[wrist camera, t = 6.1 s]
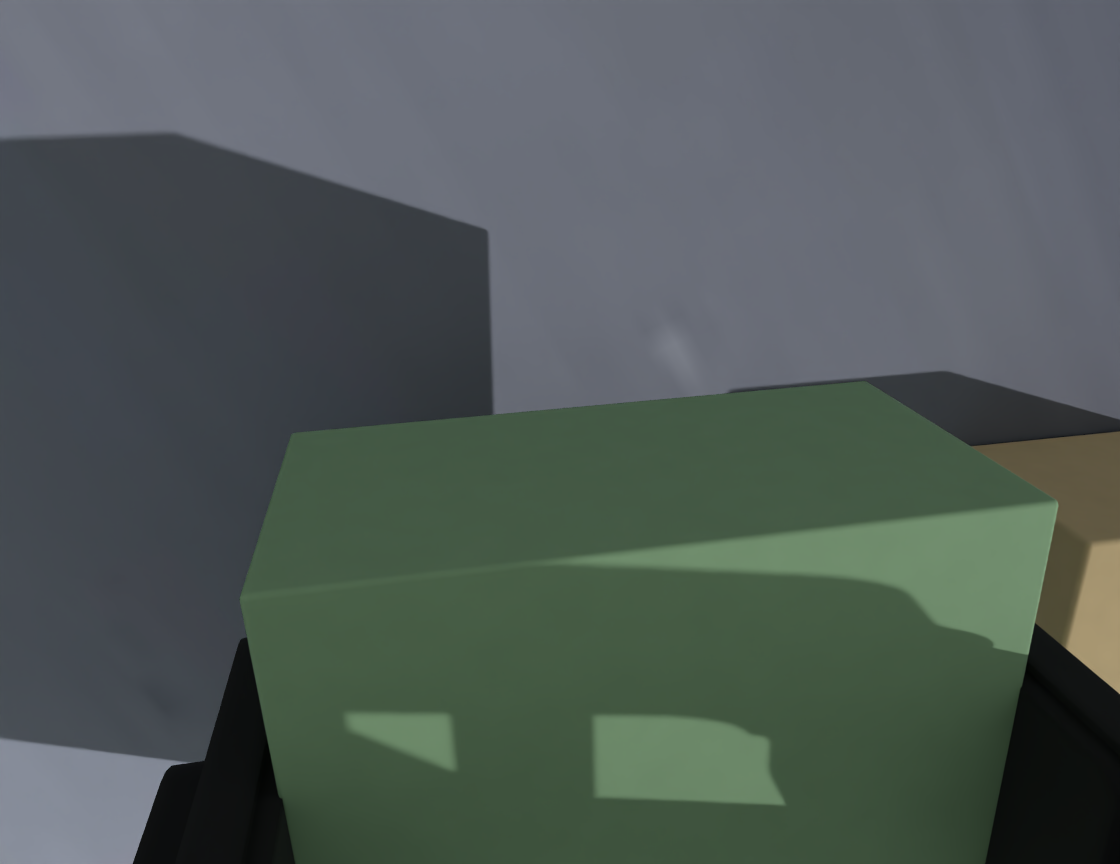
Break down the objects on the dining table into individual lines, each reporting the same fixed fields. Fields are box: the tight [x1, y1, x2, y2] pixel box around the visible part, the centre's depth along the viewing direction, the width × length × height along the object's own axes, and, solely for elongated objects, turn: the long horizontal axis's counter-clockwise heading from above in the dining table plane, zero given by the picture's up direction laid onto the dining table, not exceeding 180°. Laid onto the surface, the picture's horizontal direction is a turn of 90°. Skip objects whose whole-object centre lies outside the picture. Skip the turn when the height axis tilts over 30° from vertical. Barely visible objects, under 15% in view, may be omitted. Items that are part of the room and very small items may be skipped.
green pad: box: [239, 381, 1058, 864], centre depth 11 cm, size 7×10×4 cm
